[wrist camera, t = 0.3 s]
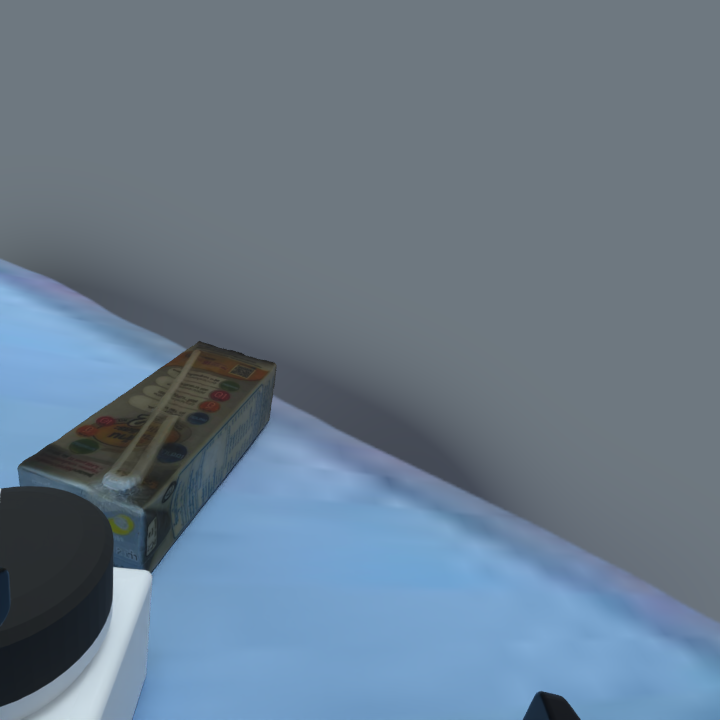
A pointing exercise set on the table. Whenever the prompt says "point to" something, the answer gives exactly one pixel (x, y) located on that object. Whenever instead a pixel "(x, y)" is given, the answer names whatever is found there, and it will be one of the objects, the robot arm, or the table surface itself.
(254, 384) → the beverage carton
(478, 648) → the table surface
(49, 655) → the medicine bottle
